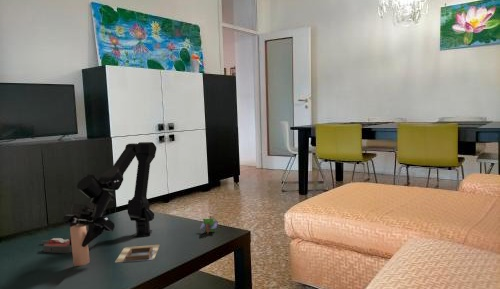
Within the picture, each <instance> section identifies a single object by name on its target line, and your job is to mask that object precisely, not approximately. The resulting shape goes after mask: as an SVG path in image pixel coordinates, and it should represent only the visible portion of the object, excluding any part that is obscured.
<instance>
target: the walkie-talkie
mask: <svg viewBox="0 0 500 289" xmlns="http://www.w3.org/2000/svg"><path fill="white" fill-rule="evenodd" d="M40 242H41V244H43V246H42V250H43V253H54V254H55V253H57V254H70V253H72V246H71V245H70V244H69V243H70V239H68V238H67V239H65V238H64V239H63V238H61V237H53V238H51V239H49V240H41V241H40Z"/></svg>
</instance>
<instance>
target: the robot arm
mask: <svg viewBox="0 0 500 289" xmlns="http://www.w3.org/2000/svg"><path fill="white" fill-rule="evenodd" d="M156 153H157V146H156V145H155V143H154V142H151V141H143V142H142V141H141V142H137V143H133V142H131V143H126V144H125V148H124V150H123V152H122V153H121V154H120V155H119V157H118V158H117V160H116V161H115V162H114V164H113V165H112V166H111V168H109V169H108V170H106V171H103V173H102V174H101V176H99V178H96V176H95V175H94V174H93V173H89V174H87V175H86V176H85V177H83V178H82V179H80V180H79V181H78V183H77V184H76V188H77V189H78V191H80V192H81V193H82V194H84V195H85V197H87V198H88V199H90V202H86V203H85V204H84V203H83V204H82V203H72V206H71V210H70V213H71V214H64V216H63V218H62V221H61V222H63V223H64V224H66V225H67V226H68V227H69V228H70V227H72V226H74V225H79V224H85V225H86V226H88V229H87V234H86V236H85V238H84V241H83V243H82V247H85V246H86V245H87V244H88V245H89V244H90V243H92V241H94V240H95V239H97V238H98V237H99V236H100V235H102V234H105V232H109V233H112V232H113V231H114V230H115V223H114V221H112V220H111V219H110V218H108V217H107V216H106V217H105V216H103V215H106V214H107V211H106V209H107V206H108V204H109V202H110V201H115V200H116V198H115V195H114V193H113V192H110V191H118V190H119V189H120V188H121V186H122V184H123V181H124V174H125V173H126V171H127V170H128V168H129V167H130V165H131V163H132V162H133V160H134V159H135V158H136V160H137V169H136V177H135V184H134V185H135V186H134V195H133V197H132V198H131V199H128V200H127V208H126V210H127V215H128V217H129V219H130V221H133V222H135V233H134V235H133V236H134V237H135V238H136V237H149V236H151V234H152V233H153V229H151V225H150V224H151V222H152V221H153V220H154V219H155V212H154V211H152V210H151V209H150V202H149V199H148V198H147V194H148V186H149V178H150V168H151V163H152V161H153V160H154V159H155V158H156ZM76 214H77V215H78V216H77V215H76ZM69 238H70V239H69V241H70V243H69V244H70V245H71V246H72V243H71V236H69Z"/></svg>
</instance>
